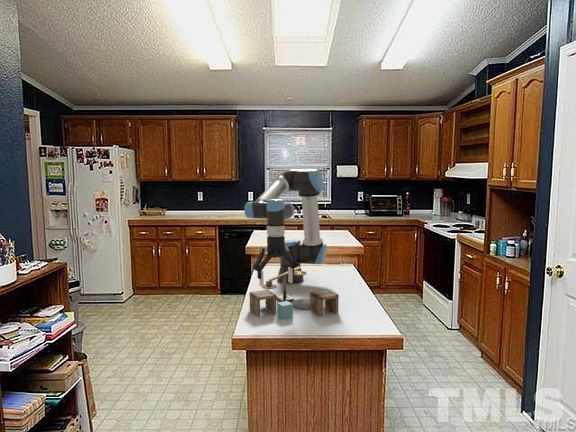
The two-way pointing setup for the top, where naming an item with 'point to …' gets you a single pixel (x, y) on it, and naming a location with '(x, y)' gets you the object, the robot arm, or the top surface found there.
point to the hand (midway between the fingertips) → (276, 284)
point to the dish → (301, 304)
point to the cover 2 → (318, 298)
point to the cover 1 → (262, 295)
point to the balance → (273, 286)
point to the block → (285, 310)
